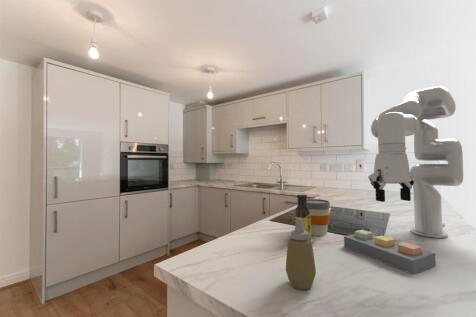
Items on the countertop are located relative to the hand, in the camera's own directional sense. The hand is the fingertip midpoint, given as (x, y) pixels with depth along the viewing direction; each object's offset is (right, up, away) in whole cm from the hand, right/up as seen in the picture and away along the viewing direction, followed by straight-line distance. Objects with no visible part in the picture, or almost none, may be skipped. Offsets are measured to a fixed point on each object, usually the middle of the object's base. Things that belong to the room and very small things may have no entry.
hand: (393, 200), depth 73 cm
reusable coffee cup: (-15, -21, +31) cm, 40 cm away
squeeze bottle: (-35, -21, -13) cm, 42 cm away
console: (0, -20, +4) cm, 21 cm away
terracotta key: (+3, -16, -3) cm, 17 cm away
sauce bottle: (-24, -21, +20) cm, 38 cm away
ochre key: (0, -16, +5) cm, 17 cm away
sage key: (-3, -17, +12) cm, 21 cm away
